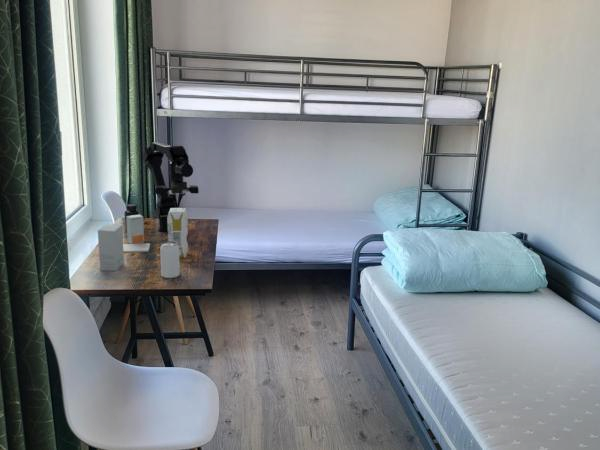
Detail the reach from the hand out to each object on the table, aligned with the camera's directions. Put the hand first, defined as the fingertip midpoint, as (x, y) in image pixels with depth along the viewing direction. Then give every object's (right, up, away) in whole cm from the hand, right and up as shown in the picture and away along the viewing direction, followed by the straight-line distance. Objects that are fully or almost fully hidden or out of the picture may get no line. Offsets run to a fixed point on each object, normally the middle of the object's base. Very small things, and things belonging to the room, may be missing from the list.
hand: (177, 208), depth 228 cm
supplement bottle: (-24, -10, +12) cm, 29 cm away
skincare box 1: (-14, -24, -40) cm, 48 cm away
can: (+9, -26, -46) cm, 54 cm away
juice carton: (+6, -20, -24) cm, 32 cm away
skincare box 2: (-16, -15, -9) cm, 24 cm away
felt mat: (-14, -17, -17) cm, 28 cm away
